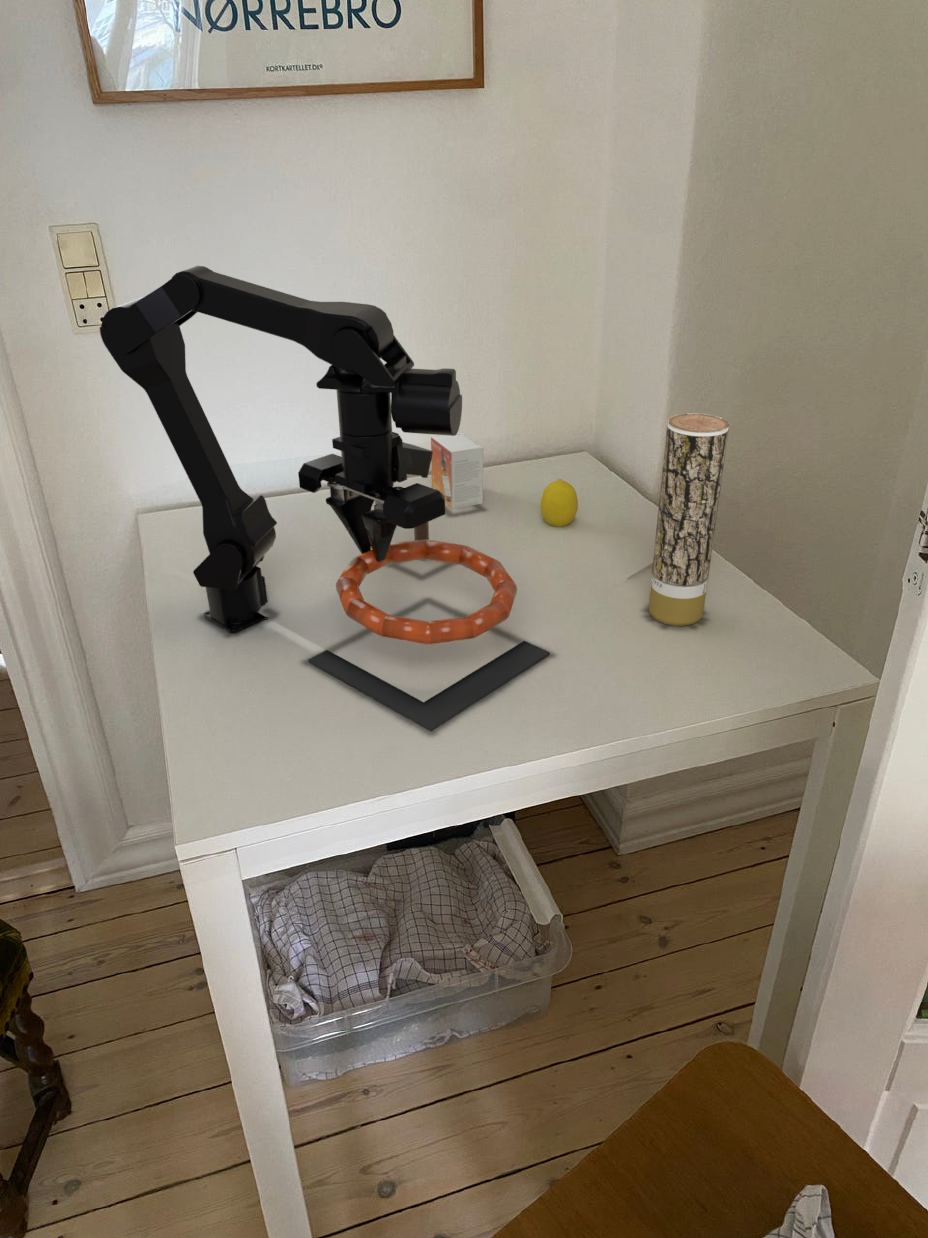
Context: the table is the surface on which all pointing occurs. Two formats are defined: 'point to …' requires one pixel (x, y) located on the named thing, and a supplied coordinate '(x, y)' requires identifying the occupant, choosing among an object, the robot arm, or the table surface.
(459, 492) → the small box
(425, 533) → the brown cylinder
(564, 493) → the lemon
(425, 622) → the ring
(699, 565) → the paper tube
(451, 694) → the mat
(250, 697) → the table surface
